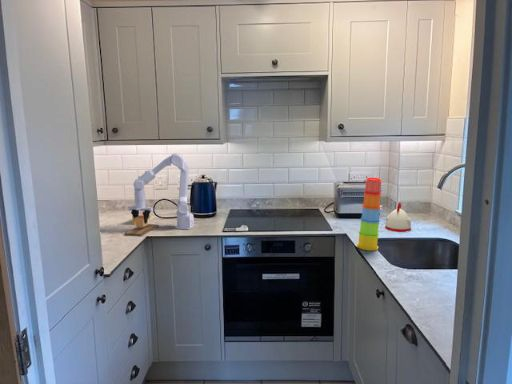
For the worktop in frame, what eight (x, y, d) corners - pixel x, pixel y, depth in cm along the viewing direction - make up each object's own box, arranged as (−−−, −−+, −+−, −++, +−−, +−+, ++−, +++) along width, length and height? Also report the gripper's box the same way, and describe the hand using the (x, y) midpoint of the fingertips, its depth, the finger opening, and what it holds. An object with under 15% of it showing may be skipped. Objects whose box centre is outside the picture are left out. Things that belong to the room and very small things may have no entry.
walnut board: (158, 226, 227) (158, 224, 226) (141, 236, 207) (140, 234, 207) (143, 225, 229) (142, 223, 229) (124, 235, 210) (124, 233, 209)
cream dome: (412, 227, 219) (414, 202, 217) (408, 233, 208) (410, 207, 205) (387, 224, 226) (389, 200, 224) (382, 230, 215) (384, 204, 212)
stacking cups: (372, 243, 191) (375, 176, 185) (382, 250, 181) (386, 179, 175) (353, 244, 189) (356, 176, 183) (362, 251, 179) (365, 180, 173)
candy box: (135, 225, 231) (134, 212, 229) (132, 224, 232) (131, 211, 230) (150, 218, 246) (149, 206, 244) (147, 218, 247) (147, 206, 245)
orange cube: (147, 224, 219) (147, 215, 218) (143, 226, 214) (142, 218, 214) (140, 223, 220) (139, 215, 219) (135, 226, 216) (134, 217, 215)
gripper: (124, 200, 212) (126, 223, 215) (148, 201, 209) (149, 225, 212) (131, 198, 219) (133, 220, 222) (154, 199, 216) (155, 222, 219)
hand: (141, 222), depth 217 cm, fingers closed on orange cube, 5 cm apart
